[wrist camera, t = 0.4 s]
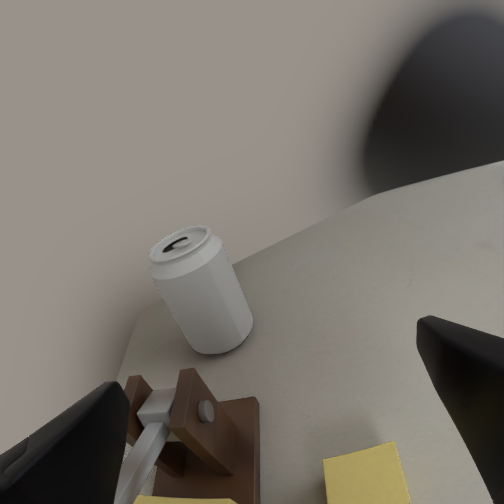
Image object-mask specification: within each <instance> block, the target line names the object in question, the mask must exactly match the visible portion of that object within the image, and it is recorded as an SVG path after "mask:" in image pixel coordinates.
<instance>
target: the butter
mask: <svg viewBox="0 0 504 504" xmlns="http://www.w3.org/2000/svg"><path fill="white" fill-rule="evenodd" d="M133 504H237V503H236V502H234V501H233V500H231V499H229V498H225V499H192V498H170V497H157V496H146V495H138V496H137V498H136V500H135V501H134V503H133Z"/></svg>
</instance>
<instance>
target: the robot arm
mask: <svg viewBox="0 0 504 504" xmlns="http://www.w3.org/2000/svg"><path fill="white" fill-rule="evenodd" d="M416 344H417V349H418V352H419V354H420V356H421V358H422V360H423V363H424V365H425V367H426V369H427V371H428V374H429V376H430V378H431V381H432V383H433V385H434V387H435V390H436V391H437V393H438V395H439V397H440V399H441V400H442V402H443V404H444V406H445V407H446V409H447V411H448V413H449V415H450V416H451V418H452V420H453V422H454V424H455V425H456V427H457V429H458V431H459V433H460V435H461V437H462V439H463V440H464V442H465V444H466V446H467V448H468V450H469V452H470V454H471V456H472V458H473V460H474V462H475V464H476V466H477V468H478V470H479V472H480V474H481V476H482V478H483V481H484V483H485V485H486V487H487V489H488V491H489V494H490V496H491V498H492V500H493V503H494V504H504V338H501V337H498V336H495V335H491V334H488V333H485V332H482V331H479V330H476V329H472V328H469V327H466V326H463V325H460V324H457V323H454V322H450V321H447V320H444V319H441V318H438V317H435V316H431V315H429V316H426V317H423V318H420V319H419V320H418V321H417V339H416ZM129 414H130V401H129V399H128V397H127V396H126V394H125V392H124V391H123V389H122V387H121V386H120V384H119V383H118V382H116V381H109V382H104V383H103V384H102V385H100V386H99V387H98V388H96V389H95V390H93V391H92V392H90V393H89V394H88V395H87V396H85V397H84V398H82V399H81V400H79V401H78V402H76V403H75V404H74V405H72V406H71V407H70V408H68V409H67V410H65V411H64V412H62V413H61V414H60V415H58V416H57V417H56V418H54V419H53V420H51V421H50V422H48V423H47V424H46V425H44V426H43V427H41V428H40V429H38V430H37V431H36V432H34V433H33V434H31V435H30V436H29V437H27V438H26V439H24V440H23V441H21V442H20V443H18V444H17V445H15V446H14V447H12V448H11V449H9V450H8V451H6V452H4V453H3V454H1V455H0V504H114V500H115V495H116V490H117V485H118V480H119V475H120V470H121V465H122V461H123V456H124V451H125V446H126V439H127V430H128V422H129Z"/></svg>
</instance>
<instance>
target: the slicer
mask: <svg viewBox="0 0 504 504" xmlns="http://www.w3.org/2000/svg"><path fill="white" fill-rule="evenodd" d="M152 391H153V390H152V389H151V387H150V386H149V385H148V384H147V383H146V381H145V380H144V379H143V378H142V376H141V375H137V376H129V378H128V381H127V383H126V386H125V389H124V392H125V394H126V396H127V397H128V399H129V401H130V414H129V422H128V430H127V439H126V442H127V443H128V444H129V445H131V446H132V447H133V446H134V445H135V443H136V441H137V440H138V438H139V437H140V435H141V434H142V432H143V430H144V429H145V428H144V426H143V425H142V423H141V421H140V419H139V417H138V416H137V412H138V411H139V409H140V408H141V407H142V405H143V404H144V402H145V401H146V400H147V398H148V397H149V395H150V394H151V392H152ZM168 429H169V430H170V431H171V432H172V433H173V434H174V435H175V436H176V437H177V438H178V439H179V440H181V441H175V442H165V444H164V446H163V448H162V450H161V452H160V454H159V456H158V457H157V459H156V461H155V463H154V464H155V465H156V466H157V472H156V477H155V483H154V488H153V494H152V496H157V497H170V498H192V499H225V498H229V499H231V500H233V501H234V502H236V503H237V504H260V433H259V403H258V401H257V399H256V397H248V398H242V399H236V400H229V401H222V402H217V400H216V399H215V397H214V396H213V395H212V393H211V392H210V390H209V389H208V387H207V386H206V385H205V383H204V382H203V380H202V379H201V377H200V376H199V374H198V373H197V371H196V370H195V368H190V369H183V370H180V374H179V378H178V383H177V387H176V392H175V397H174V401H173V406H172V411H171V416H170V421H169V426H168Z"/></svg>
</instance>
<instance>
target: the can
mask: <svg viewBox="0 0 504 504" xmlns="http://www.w3.org/2000/svg"><path fill="white" fill-rule="evenodd" d="M210 233H211V231H210V229H209V227H206V226H203V225H202V226H201V225H196V226H191V227H187V228H184V229H181V230H178V231H176V232H174V233H171V234H170V235H168V236H166V237H164V238H163V239H162V240H160V241H159V242H158V243H156V244H155V245H154V246H153V247H152V249H151V250H150V252H149V257H148V258H149V259H150V260H151V265H150V268H149V274H150V276H151V278H152V280H153V282H154V284H155V285H156V287H157V289H158V291H159V293H160V294H161V296H162V298H163V300H164V302H165V304H166V305H167V307H168V309H169V311H170V312H171V314H172V316H173V317H174V319H175V321H176V323H177V324H178V326H179V328H180V329H181V331H182V333H183V334H184V336H185V338H186V339H187V341H188V343H189V344H190V346H191V347H192V348H193V349H194V350H195V351H197V352H199V353H202V354H221V353H226V352H228V351H230V350H233V349H234V348H236V347H237V346H238V345H240V344H241V343H242V342H243V341H244V340H245V338H246V337H247V336H248V334H249V333H250V331H251V329H252V327H253V316H252V314H251V311H250V309H249V306H248V304H247V302H246V299H245V297H244V294H243V292H242V289H241V287H240V285H239V282H238V280H237V277H236V275H235V272H234V270H233V267H232V265H231V263H230V260H229V258H228V255H227V253H226V250H225V248H224V245H223V243H222V241H221V239H220V238H219V237H217V236H214V235H212V234H210Z"/></svg>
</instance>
